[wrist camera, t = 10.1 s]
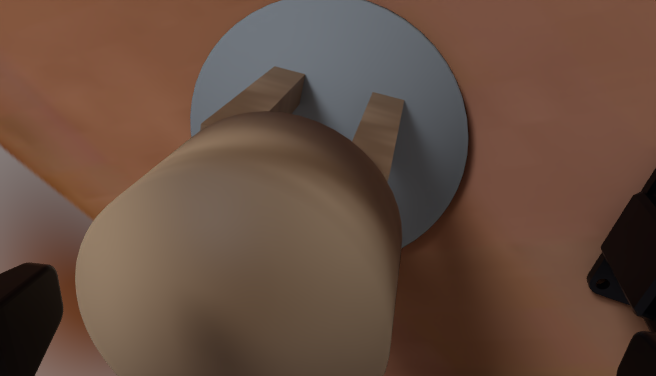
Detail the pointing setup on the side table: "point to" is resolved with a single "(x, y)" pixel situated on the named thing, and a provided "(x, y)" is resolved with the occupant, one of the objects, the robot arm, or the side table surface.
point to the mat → (353, 88)
